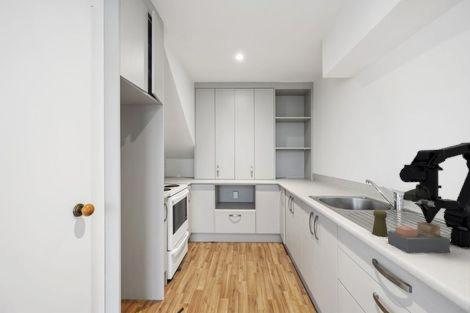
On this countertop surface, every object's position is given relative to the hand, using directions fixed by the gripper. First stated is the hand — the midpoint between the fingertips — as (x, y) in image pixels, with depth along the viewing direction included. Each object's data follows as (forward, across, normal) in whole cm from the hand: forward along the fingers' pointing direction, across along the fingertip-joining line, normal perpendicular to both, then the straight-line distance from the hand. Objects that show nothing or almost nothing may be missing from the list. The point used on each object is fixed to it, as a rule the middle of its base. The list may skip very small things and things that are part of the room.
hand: (428, 222), depth 90 cm
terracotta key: (+8, 0, -9) cm, 12 cm away
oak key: (+6, 0, 0) cm, 6 cm away
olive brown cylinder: (+10, -16, -9) cm, 20 cm away
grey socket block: (+10, 0, -5) cm, 11 cm away
